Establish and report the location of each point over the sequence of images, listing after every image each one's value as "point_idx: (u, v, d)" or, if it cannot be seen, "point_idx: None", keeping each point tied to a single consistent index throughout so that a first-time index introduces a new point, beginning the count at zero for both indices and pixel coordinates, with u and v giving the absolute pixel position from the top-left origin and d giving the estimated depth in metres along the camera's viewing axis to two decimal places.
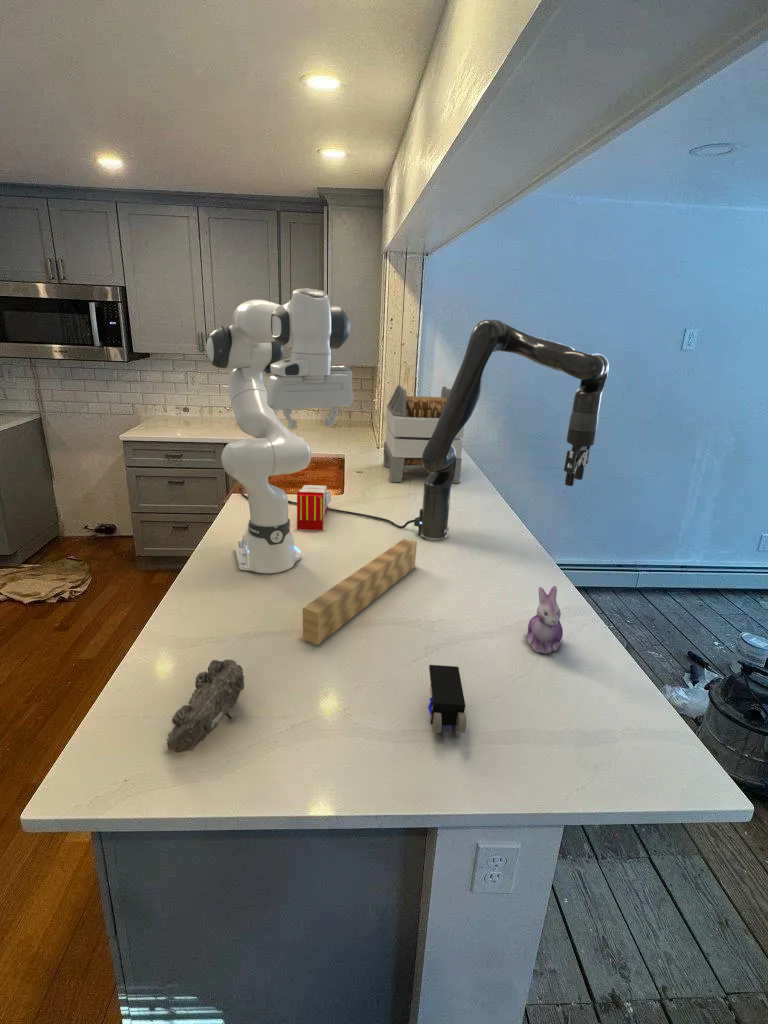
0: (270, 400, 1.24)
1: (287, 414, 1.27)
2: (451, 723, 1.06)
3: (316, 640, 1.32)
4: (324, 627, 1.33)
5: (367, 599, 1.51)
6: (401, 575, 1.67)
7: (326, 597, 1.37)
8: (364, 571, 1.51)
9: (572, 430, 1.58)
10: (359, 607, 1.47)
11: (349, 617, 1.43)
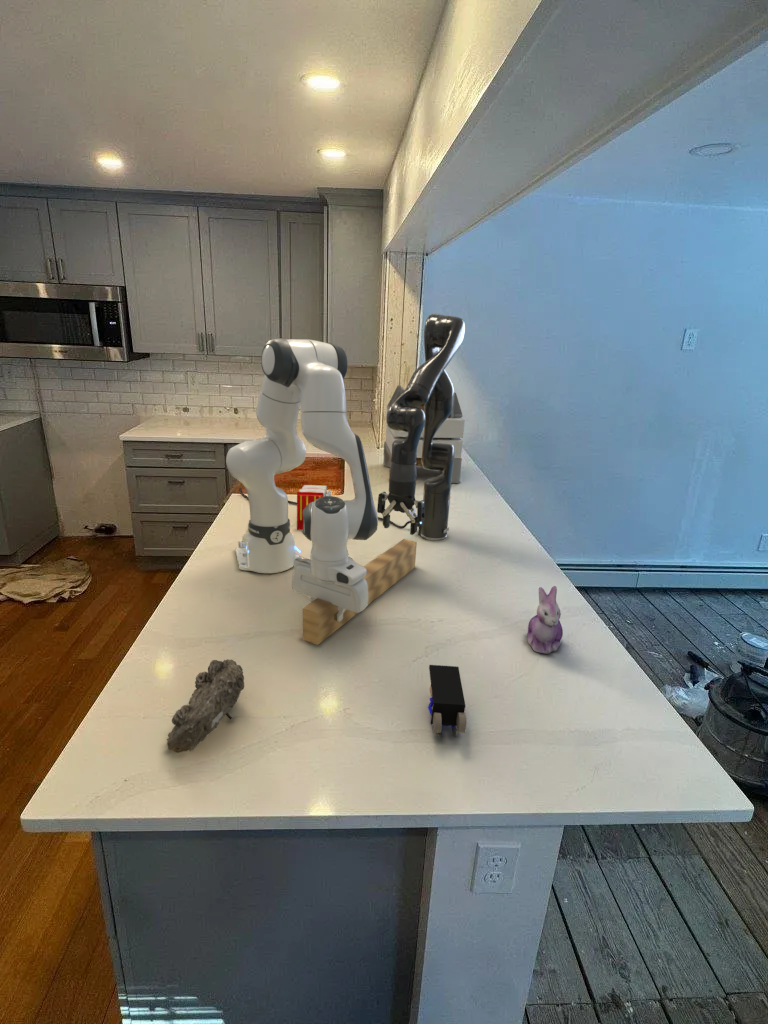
0: (365, 602, 1.32)
1: None
2: (451, 723, 1.06)
3: (316, 640, 1.32)
4: (324, 627, 1.33)
5: None
6: (401, 575, 1.67)
7: None
8: None
9: (410, 483, 1.57)
10: None
11: (349, 617, 1.43)
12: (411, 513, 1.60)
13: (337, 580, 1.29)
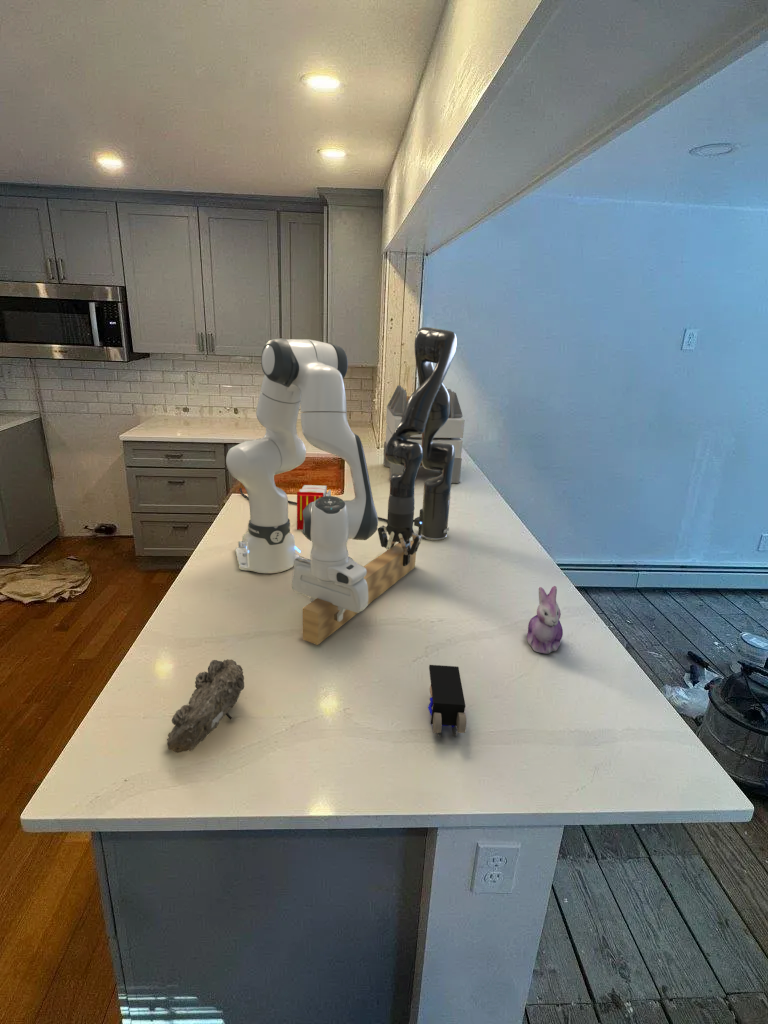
0: (365, 602, 1.32)
1: None
2: (451, 723, 1.06)
3: (316, 640, 1.32)
4: (324, 627, 1.33)
5: None
6: (401, 575, 1.67)
7: None
8: None
9: (408, 515, 1.60)
10: None
11: (349, 617, 1.43)
12: (406, 546, 1.64)
13: (337, 580, 1.29)
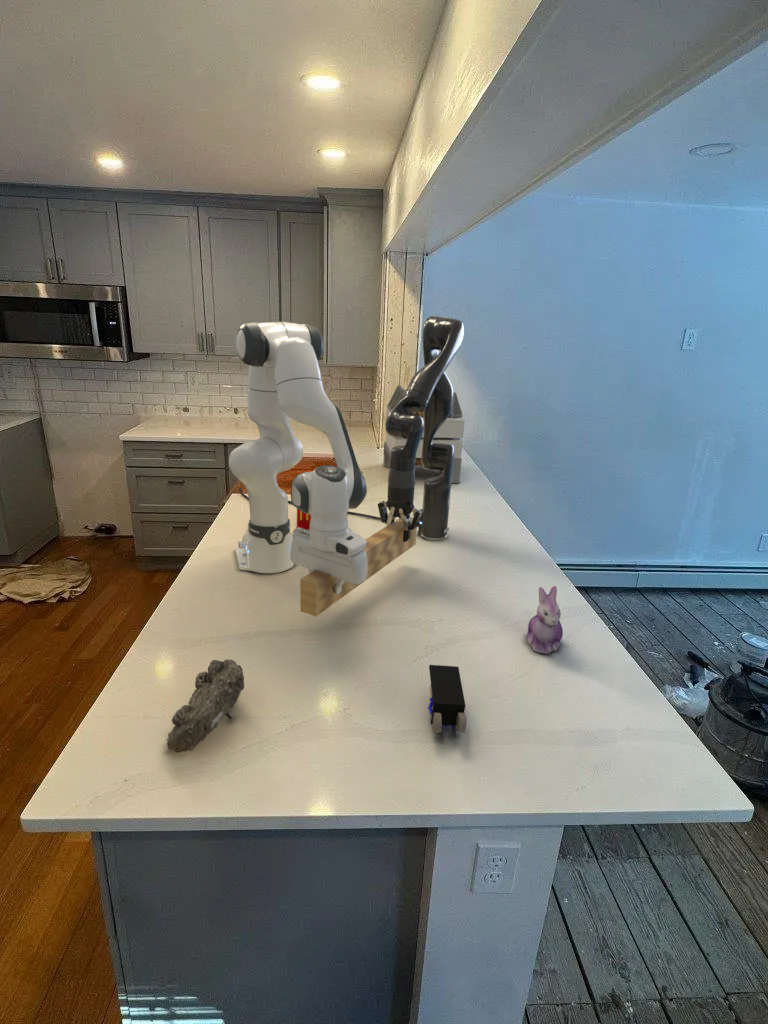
0: (365, 574, 1.30)
1: None
2: (451, 723, 1.06)
3: (314, 612, 1.30)
4: (322, 598, 1.31)
5: (367, 573, 1.48)
6: (402, 551, 1.65)
7: None
8: None
9: (409, 489, 1.57)
10: None
11: (348, 590, 1.41)
12: (406, 521, 1.61)
13: (336, 551, 1.27)
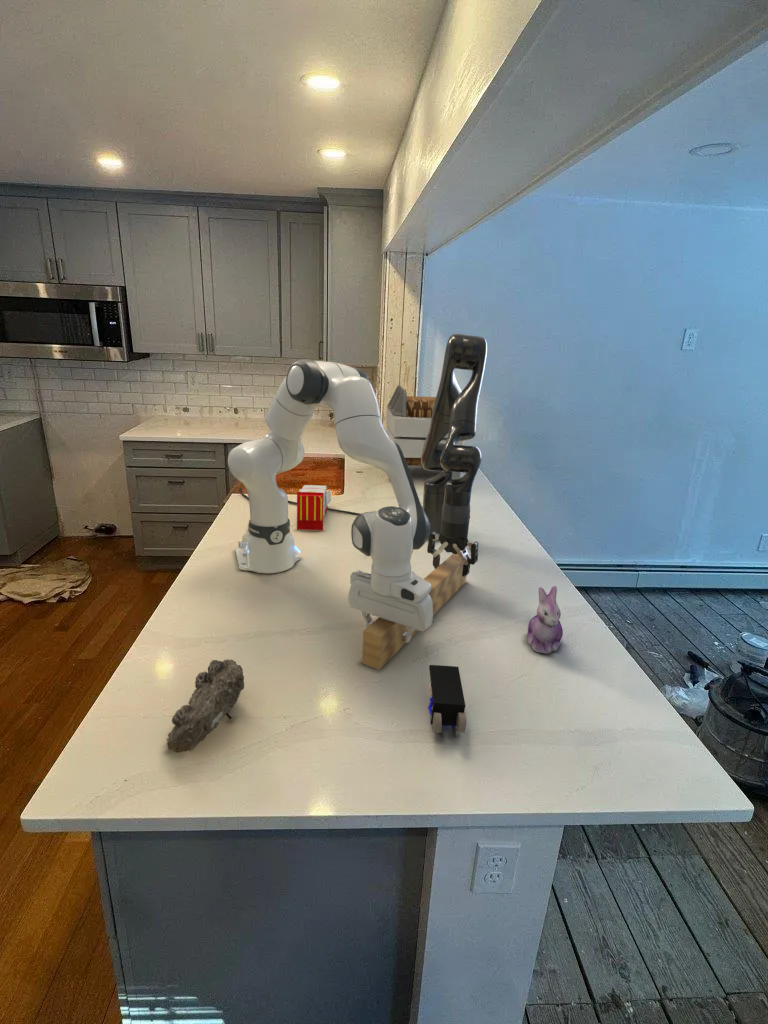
0: (430, 620, 1.24)
1: None
2: (451, 723, 1.06)
3: (377, 665, 1.24)
4: (385, 650, 1.25)
5: None
6: (454, 591, 1.59)
7: None
8: None
9: (464, 524, 1.51)
10: None
11: None
12: (464, 555, 1.54)
13: (401, 597, 1.21)
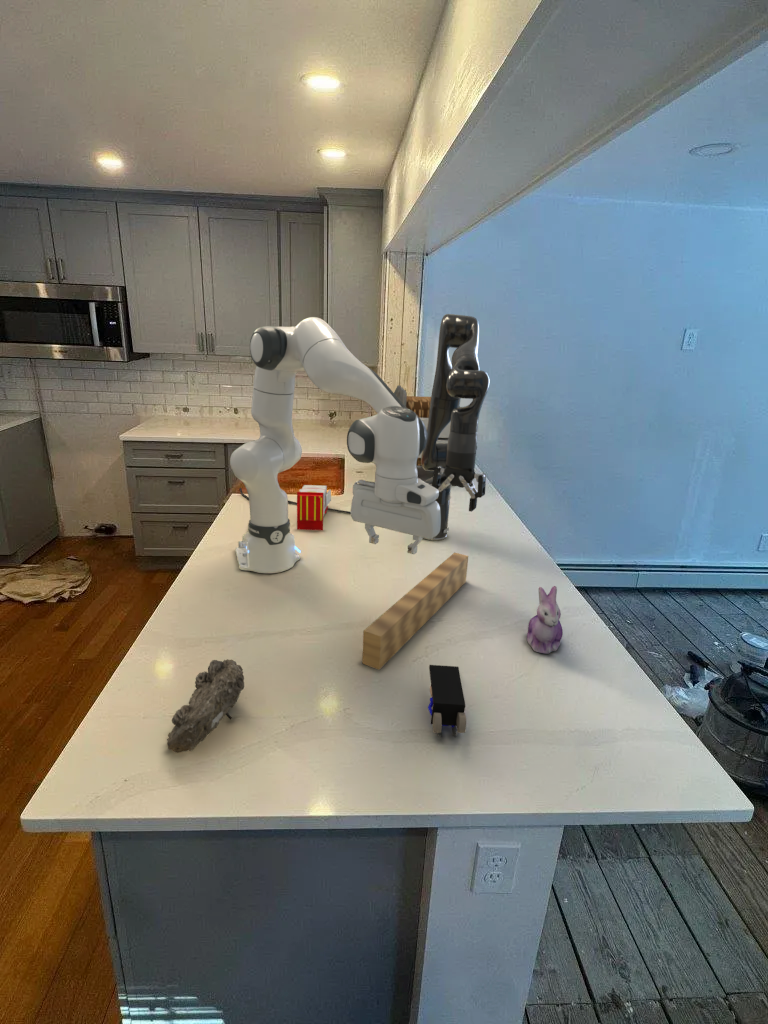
0: (438, 527, 1.16)
1: None
2: (451, 723, 1.06)
3: (377, 665, 1.24)
4: (385, 650, 1.25)
5: (424, 618, 1.42)
6: (454, 591, 1.59)
7: (386, 618, 1.29)
8: (421, 588, 1.43)
9: (471, 454, 1.44)
10: (416, 627, 1.39)
11: (407, 638, 1.35)
12: (471, 488, 1.48)
13: (407, 500, 1.13)
